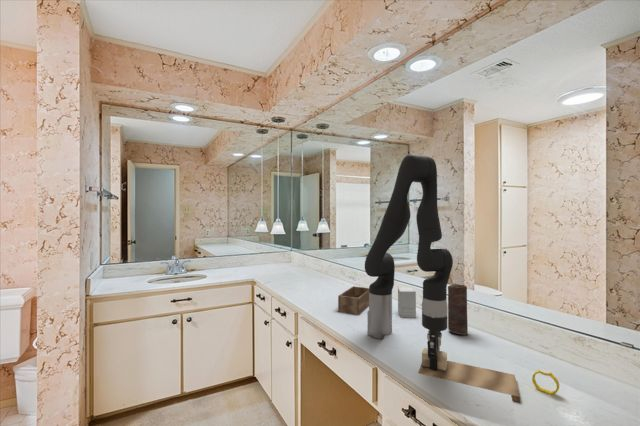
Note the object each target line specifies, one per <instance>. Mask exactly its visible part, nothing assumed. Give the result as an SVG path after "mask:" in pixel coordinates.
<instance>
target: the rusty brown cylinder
mask: <svg viewBox="0 0 640 426" xmlns="http://www.w3.org/2000/svg"><path fill="white" fill-rule="evenodd" d="M468 326H469V325H468V287H467V285H465V284H458V283H453V284H450V285H447V329H448V331H450V332H451V333H454V334H457V335H464V336H467V335H468V334H469V333H468V332H469V331H468V330H469V329H468Z"/></svg>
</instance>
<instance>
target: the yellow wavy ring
mask: <svg viewBox="0 0 640 426" xmlns="http://www.w3.org/2000/svg"><path fill="white" fill-rule="evenodd" d="M537 374H541V375H543V376H547V377H551V378H552V380H553V381H554V382H555V384H556V389H555V390H552V391H550V390H549V389H545V388H543V387H540V385H539V384H538V383H537V381H536V375H537ZM531 381H532V384H533V385H534V387H535V388H536V389H537V390H538V391H541V392H543V393H546V394H547V395H555V394H557V393H558V391H559V390H560V382H559V380H558V378H557V377H556V376H555V375H554V374H553V373H552V371H551V370H549V369H547V368H543V367H542V368H539V369H538V370H535V372H534V373H533V374H532V378H531Z"/></svg>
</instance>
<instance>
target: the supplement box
mask: <svg viewBox="0 0 640 426" xmlns="http://www.w3.org/2000/svg"><path fill="white" fill-rule="evenodd" d="M416 292H417V291H416V290H415V289H414V288H413V287H399V286H398V287H397V312H398V315H399V316H400V318H414V319H415V318H416V319H417V297H416V296H417V293H416Z"/></svg>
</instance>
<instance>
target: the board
mask: <svg viewBox="0 0 640 426" xmlns="http://www.w3.org/2000/svg"><path fill="white" fill-rule="evenodd" d="M418 374H419V375H420V374H421V375H425V376H430V377H434V378H437V379H443V380H446V381H451V382H455V383H459V384H462V385H467V386H472V387H477V388H480V389H484V390H489V391H493V392H497V393H502V394H506V395H509V396H511V400H512V402H517V403H520V402H521V395H520V392H519V391H520V390H519V387H518V384H517V383H518V382H517V378H516V374H512V373H508V372H504V371H498V370H494V369H489V368H485V367H480V366H476V365H470V364H465V363H460V362H456V361H451V360H447V369H446V372H441V371H434V370H431V369H428V368H424V367H422V362H421V364H420V366H419V369H418Z"/></svg>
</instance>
